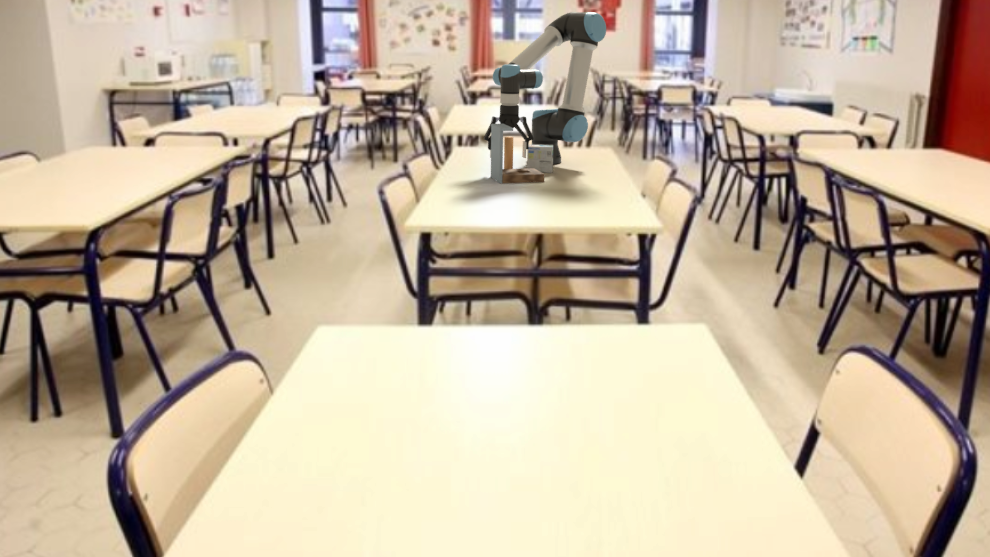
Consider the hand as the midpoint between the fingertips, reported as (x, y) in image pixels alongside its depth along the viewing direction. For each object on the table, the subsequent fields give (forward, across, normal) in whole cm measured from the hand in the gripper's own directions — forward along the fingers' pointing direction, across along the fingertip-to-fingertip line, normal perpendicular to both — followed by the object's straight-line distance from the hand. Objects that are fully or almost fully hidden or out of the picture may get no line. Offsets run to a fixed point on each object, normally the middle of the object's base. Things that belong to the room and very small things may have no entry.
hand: (508, 157), depth 338 cm
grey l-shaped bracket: (+7, +6, +12) cm, 15 cm away
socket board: (+7, -1, +12) cm, 14 cm away
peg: (+7, 0, 0) cm, 7 cm away
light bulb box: (+7, -15, -5) cm, 18 cm away
